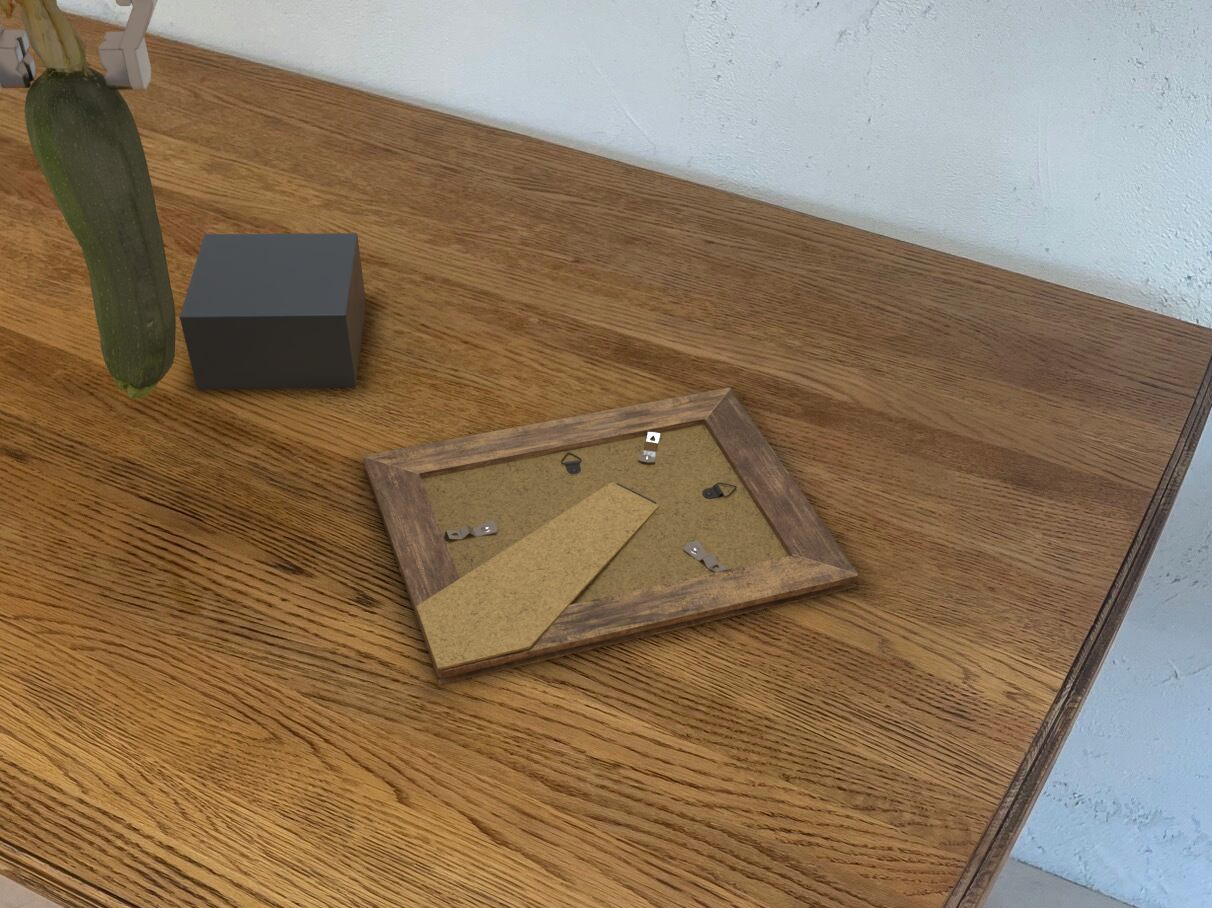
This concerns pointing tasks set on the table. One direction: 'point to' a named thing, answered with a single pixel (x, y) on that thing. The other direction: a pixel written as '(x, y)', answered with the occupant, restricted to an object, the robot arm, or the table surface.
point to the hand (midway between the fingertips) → (71, 83)
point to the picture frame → (597, 531)
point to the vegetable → (101, 198)
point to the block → (275, 311)
